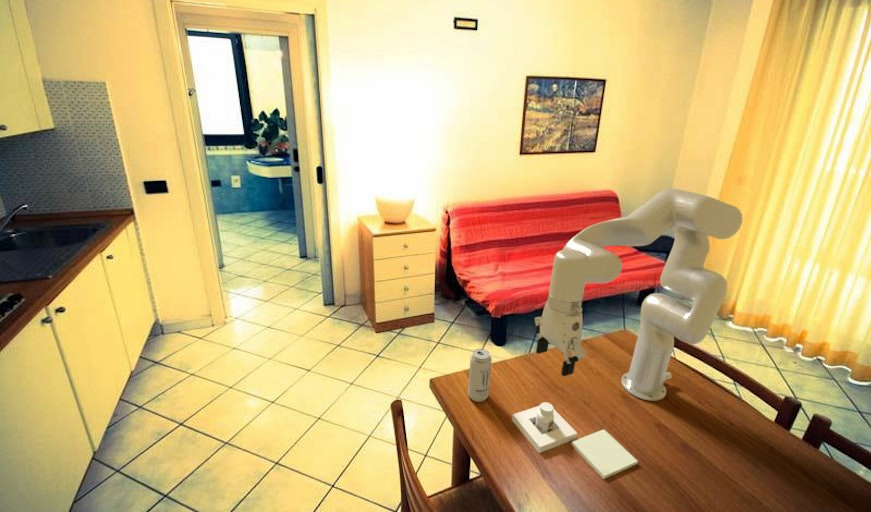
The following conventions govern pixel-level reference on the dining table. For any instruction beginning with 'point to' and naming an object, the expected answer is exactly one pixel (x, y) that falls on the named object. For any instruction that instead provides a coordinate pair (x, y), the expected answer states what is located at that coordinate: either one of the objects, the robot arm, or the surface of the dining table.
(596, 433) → the pad
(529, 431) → the collar
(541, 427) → the pill bottle
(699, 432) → the dining table surface
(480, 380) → the energy drink can
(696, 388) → the dining table surface
